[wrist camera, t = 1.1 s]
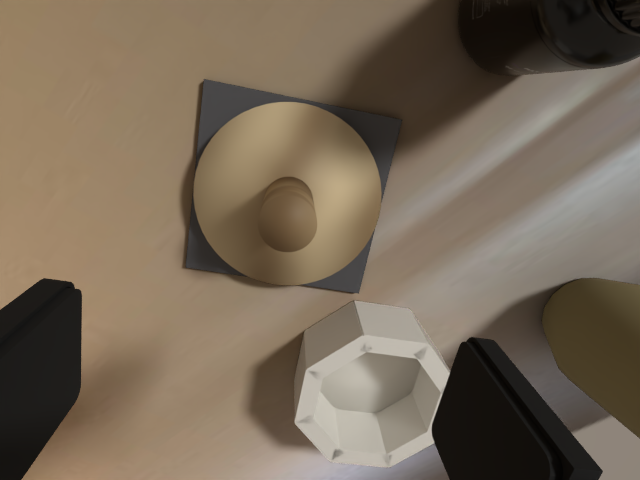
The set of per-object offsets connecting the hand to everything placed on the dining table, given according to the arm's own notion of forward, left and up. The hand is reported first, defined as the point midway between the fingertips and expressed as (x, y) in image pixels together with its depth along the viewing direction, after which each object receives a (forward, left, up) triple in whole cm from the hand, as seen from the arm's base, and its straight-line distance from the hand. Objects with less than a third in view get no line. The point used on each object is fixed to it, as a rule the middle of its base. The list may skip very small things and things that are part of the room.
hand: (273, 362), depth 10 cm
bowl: (-8, +12, -18) cm, 23 cm away
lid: (0, 0, -17) cm, 17 cm away
